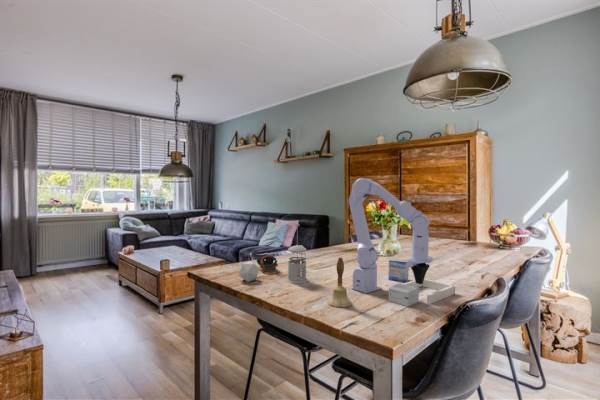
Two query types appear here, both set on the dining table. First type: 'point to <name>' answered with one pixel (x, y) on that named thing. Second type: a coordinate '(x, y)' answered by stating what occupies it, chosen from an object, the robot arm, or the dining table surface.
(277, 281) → the dining table surface
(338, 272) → the hand bell
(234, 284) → the dining table surface
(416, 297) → the small box
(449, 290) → the u-shaped frame
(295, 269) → the french press
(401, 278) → the medicine box
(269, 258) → the pottery mug
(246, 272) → the die
